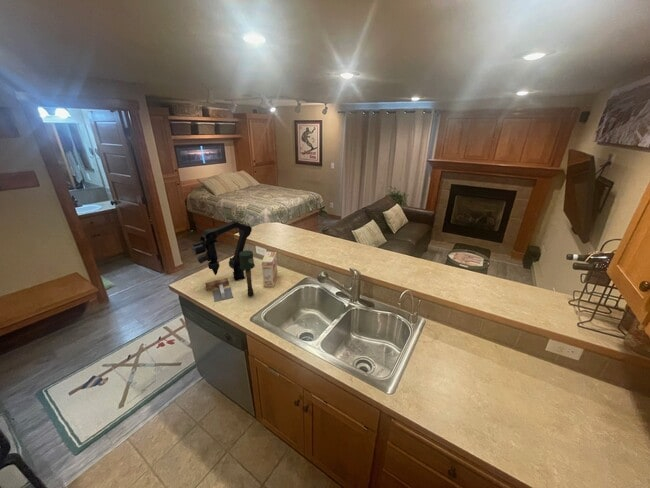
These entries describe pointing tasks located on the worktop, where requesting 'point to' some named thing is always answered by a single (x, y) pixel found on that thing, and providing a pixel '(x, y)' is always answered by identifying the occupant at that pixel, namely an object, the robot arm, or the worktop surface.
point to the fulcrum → (222, 294)
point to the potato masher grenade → (247, 268)
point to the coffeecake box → (269, 269)
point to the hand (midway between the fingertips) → (215, 271)
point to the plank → (217, 284)
